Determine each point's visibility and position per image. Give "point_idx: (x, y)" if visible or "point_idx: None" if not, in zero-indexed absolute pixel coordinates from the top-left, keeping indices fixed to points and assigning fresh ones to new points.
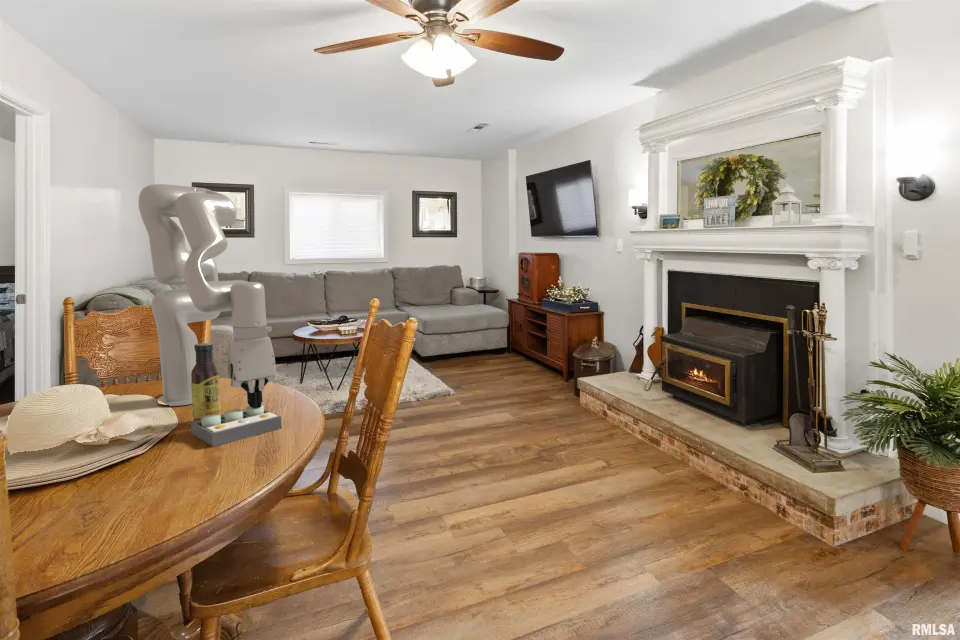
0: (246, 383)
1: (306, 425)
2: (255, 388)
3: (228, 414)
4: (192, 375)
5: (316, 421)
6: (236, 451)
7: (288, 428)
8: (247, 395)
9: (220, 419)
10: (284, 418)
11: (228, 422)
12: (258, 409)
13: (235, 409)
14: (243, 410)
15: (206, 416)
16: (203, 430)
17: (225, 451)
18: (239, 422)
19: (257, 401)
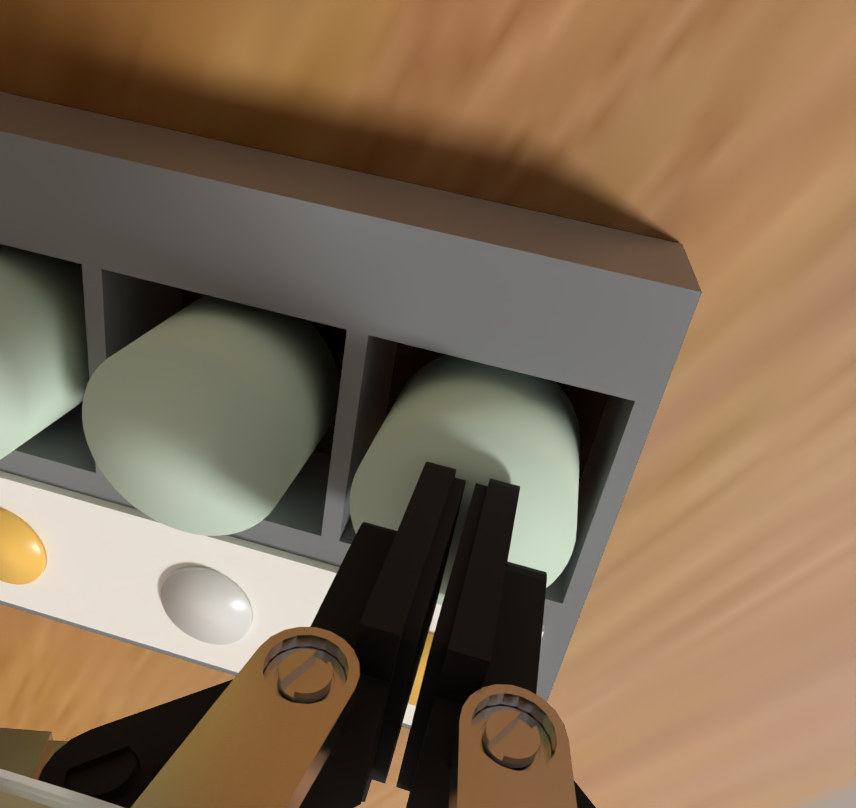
0: (227, 805)
1: (687, 779)
2: (417, 779)
3: (103, 470)
4: None
5: (816, 796)
6: (90, 679)
7: (559, 708)
8: (322, 610)
9: (37, 431)
10: (784, 523)
11: (99, 509)
12: (438, 598)
13: (247, 386)
14: (450, 275)
15: None
16: None
17: (43, 629)
18: (163, 603)
19: (417, 668)
